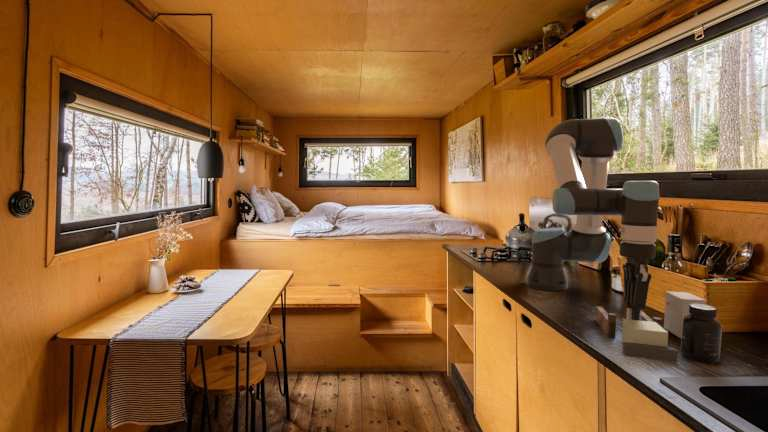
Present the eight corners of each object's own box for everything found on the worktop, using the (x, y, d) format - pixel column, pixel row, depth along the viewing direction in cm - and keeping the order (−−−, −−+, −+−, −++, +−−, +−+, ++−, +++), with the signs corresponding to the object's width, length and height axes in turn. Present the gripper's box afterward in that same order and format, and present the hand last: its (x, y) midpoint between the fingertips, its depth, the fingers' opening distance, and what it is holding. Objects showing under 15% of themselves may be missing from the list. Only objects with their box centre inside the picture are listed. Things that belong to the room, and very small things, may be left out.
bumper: (622, 352, 87) (623, 341, 87) (673, 358, 84) (673, 347, 84) (625, 355, 85) (626, 345, 85) (677, 362, 82) (677, 351, 82)
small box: (704, 340, 94) (707, 300, 93) (680, 339, 95) (682, 299, 94) (686, 329, 102) (688, 292, 101) (663, 327, 103) (665, 290, 102)
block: (621, 342, 93) (623, 318, 93) (654, 345, 91) (655, 322, 91) (631, 353, 86) (632, 328, 86) (666, 357, 84) (668, 332, 84)
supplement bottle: (672, 351, 87) (675, 301, 87) (699, 350, 88) (702, 301, 87) (699, 365, 81) (702, 311, 80) (728, 364, 81) (732, 310, 80)
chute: (595, 319, 109) (596, 299, 109) (640, 323, 105) (641, 303, 105) (608, 337, 96) (609, 314, 95) (660, 343, 92) (662, 319, 92)
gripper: (613, 237, 101) (609, 321, 102) (629, 244, 88) (624, 340, 90) (645, 239, 98) (640, 325, 100) (666, 246, 86) (660, 344, 88)
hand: (632, 332), depth 95 cm, fingers closed
